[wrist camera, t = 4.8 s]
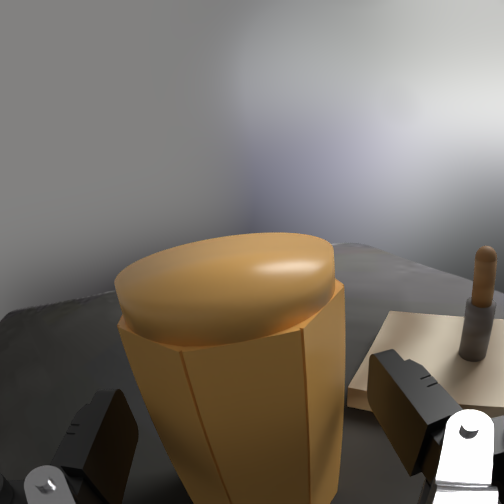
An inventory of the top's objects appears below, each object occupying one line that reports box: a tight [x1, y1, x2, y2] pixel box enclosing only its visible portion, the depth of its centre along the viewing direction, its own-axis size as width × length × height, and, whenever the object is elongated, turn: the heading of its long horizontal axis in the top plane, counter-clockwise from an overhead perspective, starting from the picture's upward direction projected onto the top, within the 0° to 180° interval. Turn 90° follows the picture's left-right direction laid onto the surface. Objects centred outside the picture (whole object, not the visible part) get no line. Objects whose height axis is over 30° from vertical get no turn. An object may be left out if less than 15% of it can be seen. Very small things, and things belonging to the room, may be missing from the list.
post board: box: [347, 246, 504, 418], centre depth 15 cm, size 14×10×8 cm
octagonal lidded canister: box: [114, 233, 345, 504], centre depth 10 cm, size 6×6×11 cm
